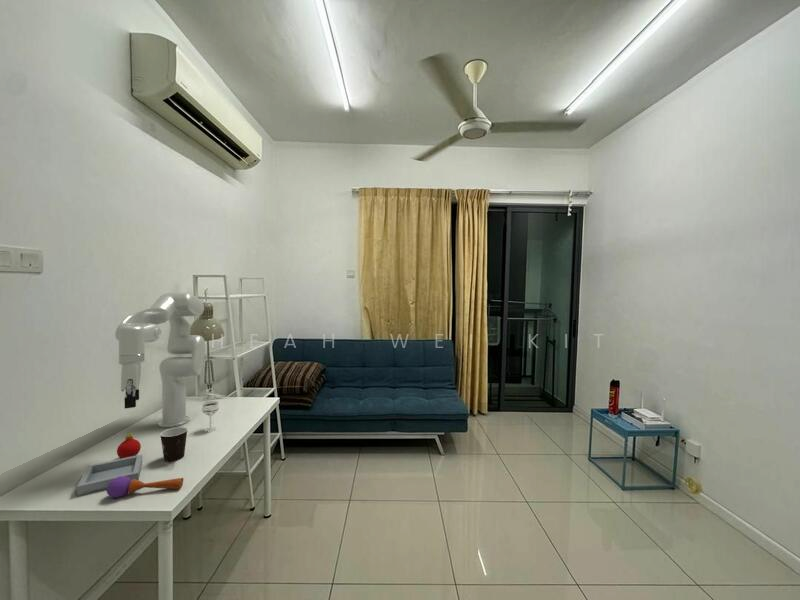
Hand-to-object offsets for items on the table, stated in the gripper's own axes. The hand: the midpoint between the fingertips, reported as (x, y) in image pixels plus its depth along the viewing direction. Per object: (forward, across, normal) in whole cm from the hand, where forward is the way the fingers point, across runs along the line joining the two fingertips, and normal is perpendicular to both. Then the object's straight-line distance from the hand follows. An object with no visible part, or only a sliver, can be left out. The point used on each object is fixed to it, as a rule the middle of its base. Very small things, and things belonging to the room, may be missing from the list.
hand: (132, 403), depth 126 cm
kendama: (+22, +29, +6) cm, 36 cm away
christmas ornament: (+21, -1, -1) cm, 21 cm away
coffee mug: (+21, +8, +13) cm, 26 cm away
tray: (+21, +13, -4) cm, 25 cm away
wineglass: (+21, -16, +27) cm, 37 cm away
